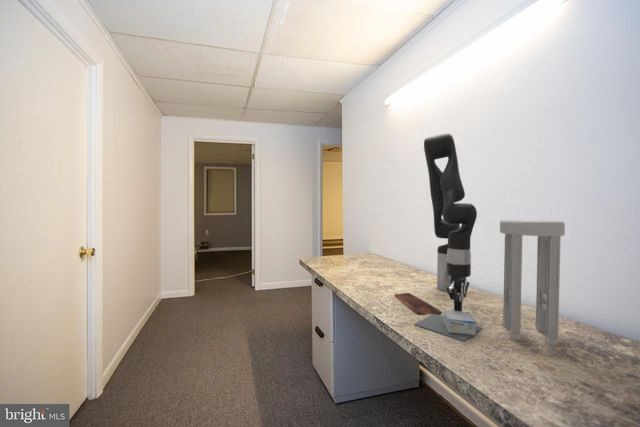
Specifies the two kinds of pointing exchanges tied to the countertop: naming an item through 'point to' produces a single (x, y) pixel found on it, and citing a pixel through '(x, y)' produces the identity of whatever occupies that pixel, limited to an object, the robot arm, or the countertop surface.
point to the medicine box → (459, 322)
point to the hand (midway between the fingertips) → (457, 311)
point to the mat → (442, 327)
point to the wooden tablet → (417, 304)
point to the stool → (546, 275)
